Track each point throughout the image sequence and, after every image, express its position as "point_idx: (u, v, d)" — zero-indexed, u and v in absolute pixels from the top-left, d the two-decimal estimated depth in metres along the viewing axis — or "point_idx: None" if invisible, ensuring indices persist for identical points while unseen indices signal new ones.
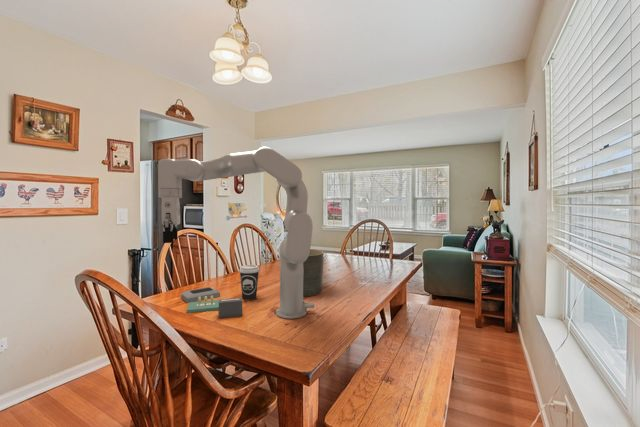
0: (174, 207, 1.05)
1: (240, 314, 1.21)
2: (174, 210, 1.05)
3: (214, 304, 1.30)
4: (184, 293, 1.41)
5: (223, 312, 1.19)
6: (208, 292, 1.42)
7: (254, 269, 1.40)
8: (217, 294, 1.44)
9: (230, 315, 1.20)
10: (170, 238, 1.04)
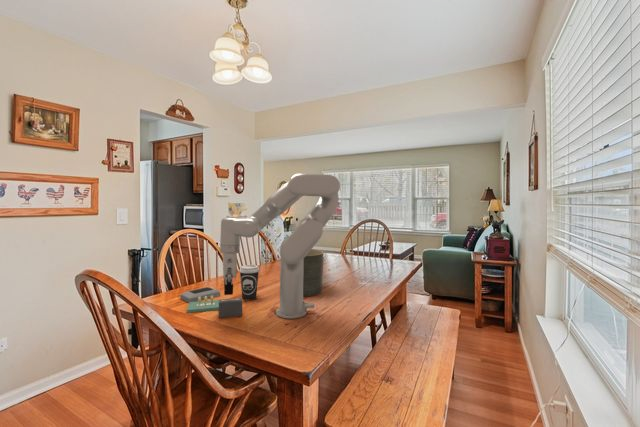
0: (235, 262, 1.17)
1: (240, 314, 1.21)
2: (235, 265, 1.17)
3: (214, 304, 1.30)
4: (184, 294, 1.40)
5: (223, 312, 1.19)
6: (209, 291, 1.43)
7: (254, 269, 1.40)
8: (218, 293, 1.45)
9: (230, 315, 1.20)
10: (230, 290, 1.16)
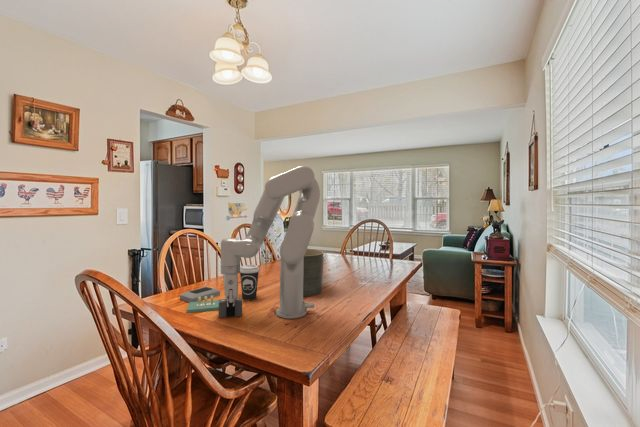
0: (236, 283, 1.18)
1: (240, 314, 1.21)
2: (236, 286, 1.17)
3: (214, 304, 1.30)
4: (184, 294, 1.39)
5: (222, 312, 1.19)
6: (210, 291, 1.44)
7: (254, 269, 1.40)
8: (218, 292, 1.46)
9: None
10: (232, 312, 1.19)
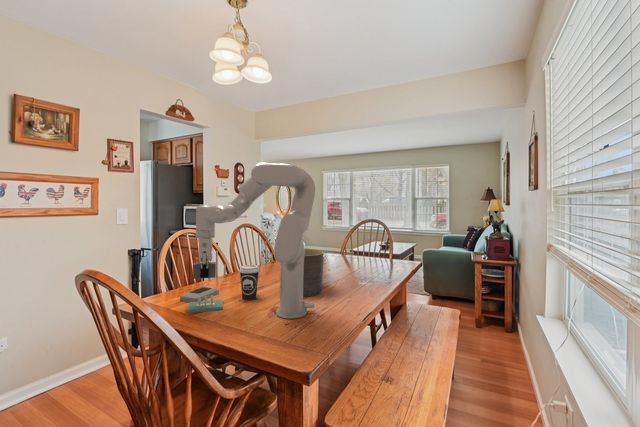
0: (209, 246, 1.25)
1: (213, 276, 1.29)
2: (209, 249, 1.25)
3: (214, 304, 1.30)
4: (185, 295, 1.38)
5: (197, 273, 1.27)
6: (210, 290, 1.45)
7: (254, 269, 1.40)
8: (217, 291, 1.48)
9: None
10: (206, 274, 1.27)
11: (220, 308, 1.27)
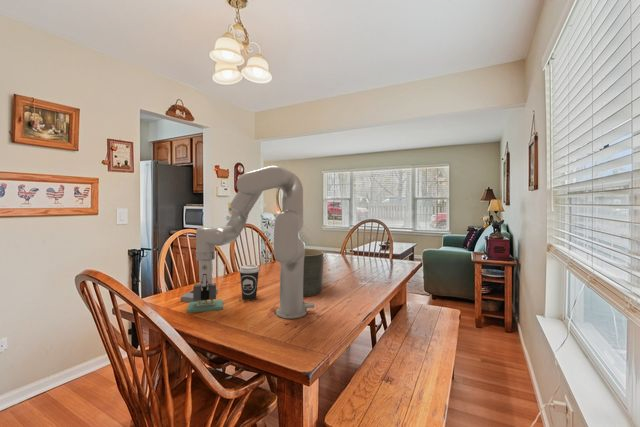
0: (209, 269, 1.26)
1: (214, 298, 1.29)
2: (209, 271, 1.26)
3: (214, 304, 1.30)
4: (186, 295, 1.38)
5: (197, 296, 1.27)
6: None
7: (254, 269, 1.40)
8: (216, 291, 1.49)
9: None
10: (206, 296, 1.27)
11: (220, 308, 1.27)
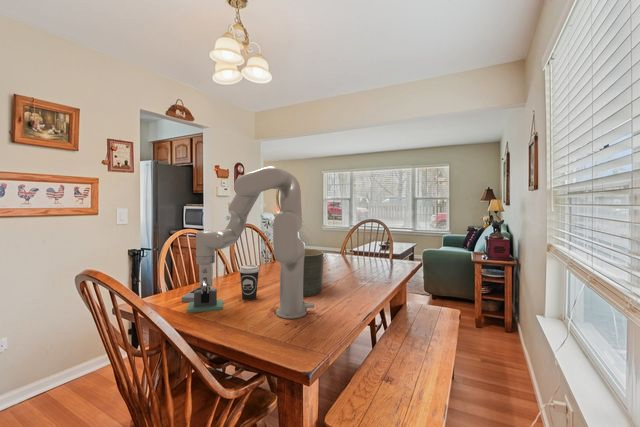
0: (210, 272, 1.26)
1: (214, 304, 1.30)
2: (210, 275, 1.26)
3: None
4: (187, 296, 1.37)
5: (198, 302, 1.27)
6: None
7: (254, 269, 1.40)
8: None
9: (205, 304, 1.28)
10: (206, 299, 1.25)
11: (220, 308, 1.27)
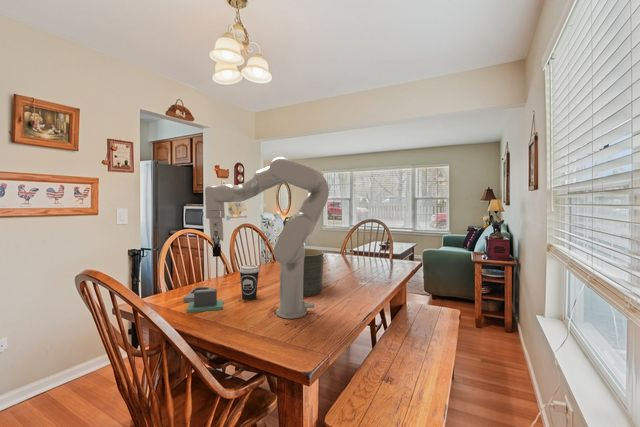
0: (220, 226, 1.25)
1: (214, 304, 1.30)
2: (220, 229, 1.25)
3: None
4: (189, 296, 1.37)
5: (198, 302, 1.27)
6: None
7: (254, 269, 1.40)
8: None
9: (205, 304, 1.28)
10: (218, 252, 1.24)
11: (220, 308, 1.27)
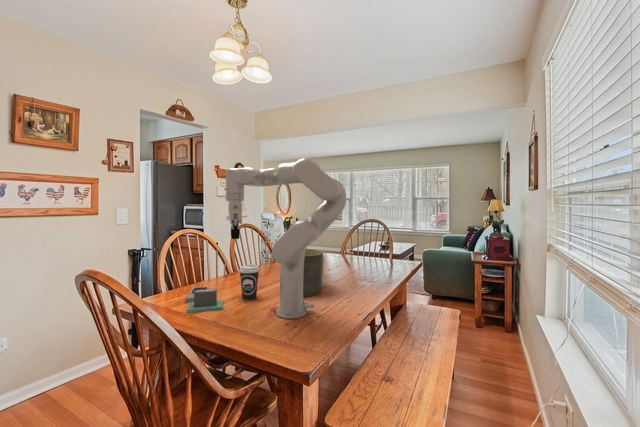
0: (240, 209, 1.26)
1: (214, 304, 1.30)
2: (240, 211, 1.26)
3: None
4: (191, 296, 1.37)
5: (198, 302, 1.27)
6: None
7: (254, 269, 1.40)
8: None
9: (205, 304, 1.28)
10: (237, 235, 1.25)
11: (220, 308, 1.27)
